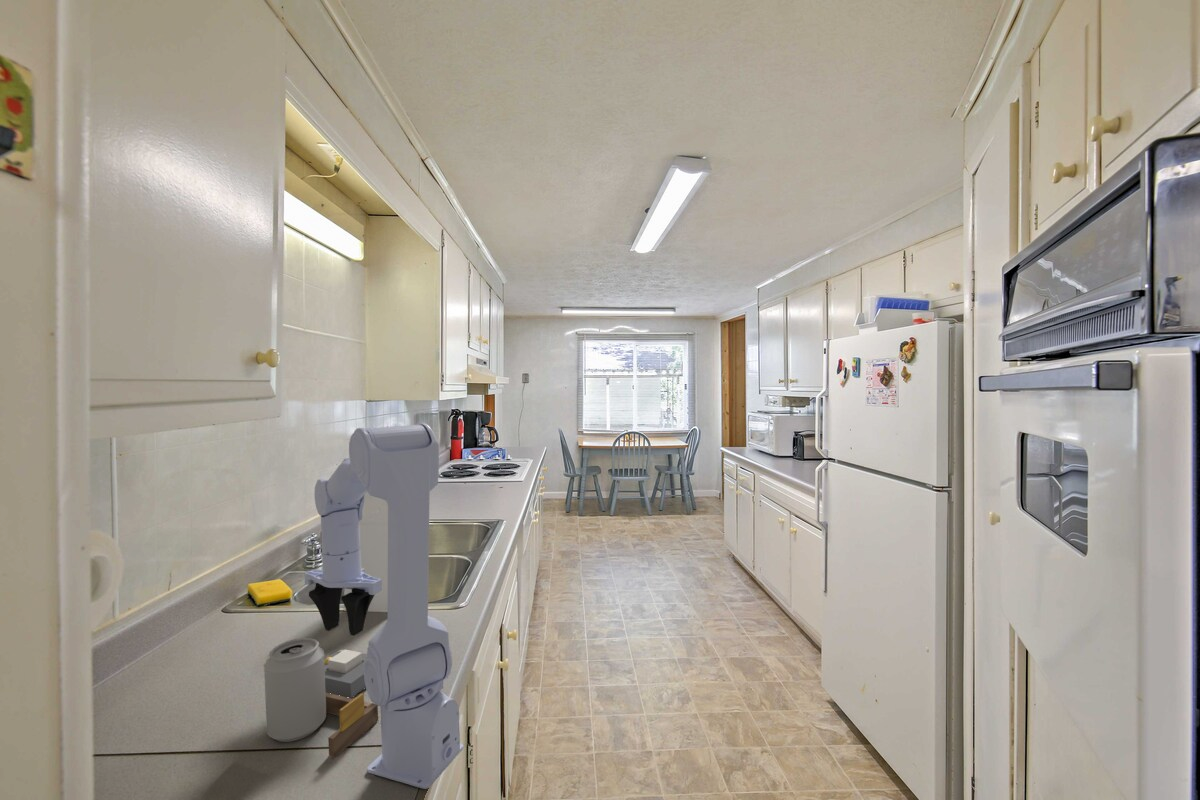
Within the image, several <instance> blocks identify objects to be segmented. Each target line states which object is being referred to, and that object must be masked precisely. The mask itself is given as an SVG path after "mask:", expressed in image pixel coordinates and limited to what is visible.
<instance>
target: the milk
mask: <svg viewBox="0 0 1200 800" xmlns="http://www.w3.org/2000/svg"><path fill="white" fill-rule="evenodd" d="M359 523H360V553H361V568H363V569H364V573H366V574H368V575H370V576H372V577H375V578H378V579H382V591H380V592H378V593H376V594H375V595H374V597H373V599H372V601H371V603H370V605H369V608H368V611H367V613H368V612H371V613H372V612H373V613H374V612H377V613H388V504H387V502H386V500H384V499H381V498H377V497H374V496H370V495H369V493H368V492H366V493H365V494H364V505H363V509H362V520H360V521H359ZM350 592H351V593H352V590H351V589H344V593H343V594H344V595H346V594H348V593H350ZM344 595H343V596H344ZM343 611H344V612H347V611H346V608H345V605H344V604H343Z"/></svg>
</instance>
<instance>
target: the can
mask: <svg viewBox="0 0 1200 800" xmlns="http://www.w3.org/2000/svg"><path fill="white" fill-rule="evenodd" d="M319 645H320V642H319V641H318V640H317V639H315V638H313V637H312V638H311V637H301V638H293V639H290V640H288V641H284V642H282V643H280V644H278V645H276V646H274V647H273V648H272V649H271V650H270V651H269V654H268V659H267V660H266V661H265V662H264V665H263V670H264V671H263V672H264V674H263V675H264V676H263V677H264V695H265V696H264V697H265V698H264V699H265V715H266V716H265V717H266V718H265V719H266V733H267V736H269V737H270V738H271V739H273V740H275V741H276V740H277V741H278V742H283V743H286V742H287V743H288V742H289V743H290V742H295V741H299V740H301V739H304V738H306V737H308V736H310V735H312V734H313V733H314V732H315V731H316V730H318V728H319V727H320V726H321V725H322V724H323V723H324V721H325V720H326V718H327V713H326V691H325V664H324V659H325V651H324V649H323V648H322V647H321V646H319Z"/></svg>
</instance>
